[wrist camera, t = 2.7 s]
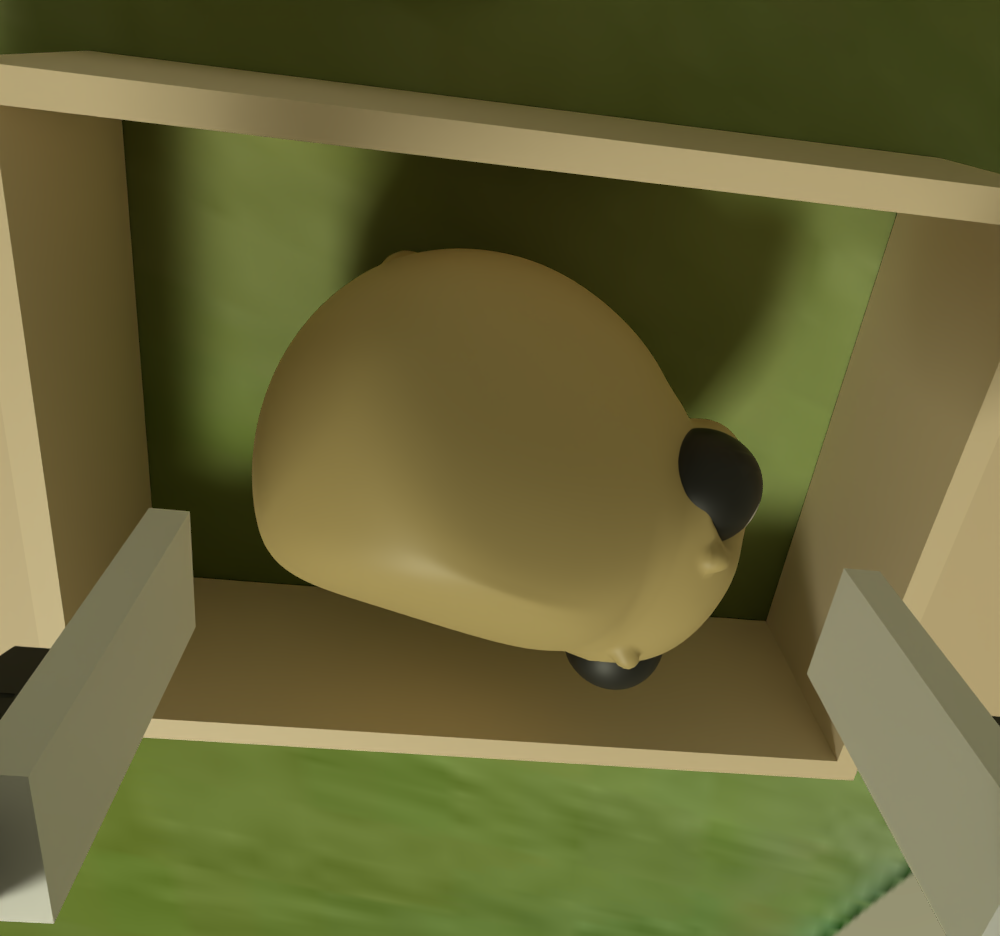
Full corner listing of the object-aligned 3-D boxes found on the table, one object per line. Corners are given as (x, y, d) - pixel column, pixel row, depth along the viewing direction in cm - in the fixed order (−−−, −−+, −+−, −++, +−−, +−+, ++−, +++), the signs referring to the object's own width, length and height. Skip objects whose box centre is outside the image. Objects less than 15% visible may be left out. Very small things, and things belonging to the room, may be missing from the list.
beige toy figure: (581, 589, 29) (636, 857, 20) (249, 444, 26) (127, 676, 17) (750, 347, 25) (919, 535, 16) (384, 146, 22) (323, 229, 13)
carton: (-81, 29, 21) (-292, 27, 15) (1078, 175, 23) (1279, 222, 18) (13, 581, 28) (-104, 722, 22) (886, 646, 31) (983, 788, 25)
